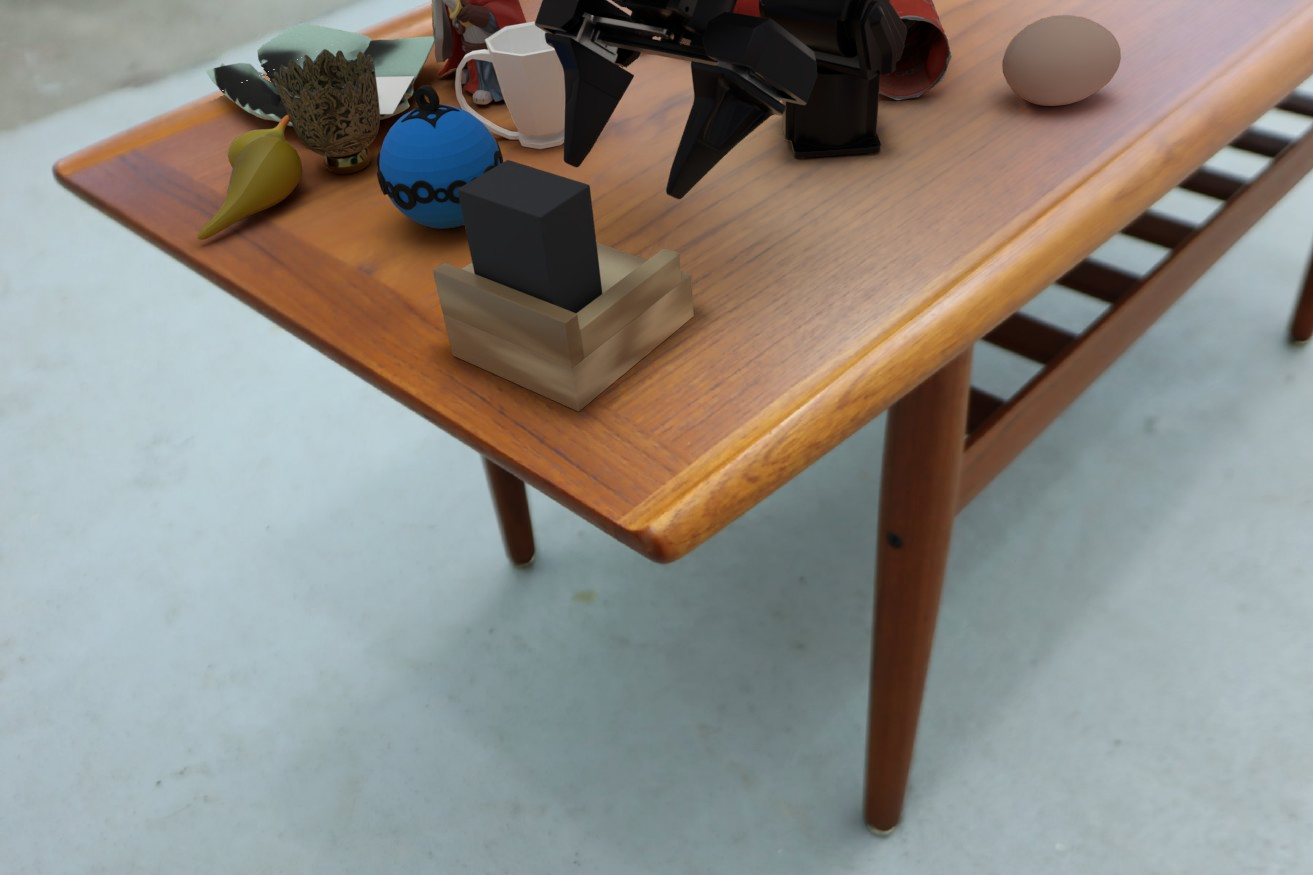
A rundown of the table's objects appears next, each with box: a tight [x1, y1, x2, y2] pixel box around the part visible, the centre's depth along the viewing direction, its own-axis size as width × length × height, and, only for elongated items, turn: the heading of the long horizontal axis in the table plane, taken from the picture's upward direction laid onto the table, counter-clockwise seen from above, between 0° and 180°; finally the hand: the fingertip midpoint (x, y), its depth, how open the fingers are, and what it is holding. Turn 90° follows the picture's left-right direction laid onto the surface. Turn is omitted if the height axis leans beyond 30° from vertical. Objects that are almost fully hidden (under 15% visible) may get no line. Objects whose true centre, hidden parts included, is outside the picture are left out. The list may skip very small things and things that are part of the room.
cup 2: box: [454, 20, 565, 150], centre depth 85 cm, size 7×10×8 cm
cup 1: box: [272, 49, 381, 175], centre depth 83 cm, size 8×7×8 cm
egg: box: [1001, 14, 1122, 107], centre depth 84 cm, size 7×7×9 cm
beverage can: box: [879, 0, 953, 101], centre depth 91 cm, size 7×12×7 cm, turn 176°
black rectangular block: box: [457, 159, 602, 313], centre depth 60 cm, size 4×6×8 cm, turn 53°
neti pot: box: [197, 115, 303, 241], centre depth 82 cm, size 4×15×6 cm
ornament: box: [376, 84, 504, 230], centre depth 75 cm, size 9×9×10 cm
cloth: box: [205, 21, 435, 127], centre depth 97 cm, size 20×22×2 cm
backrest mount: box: [432, 241, 695, 413], centre depth 64 cm, size 11×10×6 cm
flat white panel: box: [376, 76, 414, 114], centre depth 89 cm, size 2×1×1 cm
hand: (619, 180), depth 66 cm, fingers open, 9 cm apart
